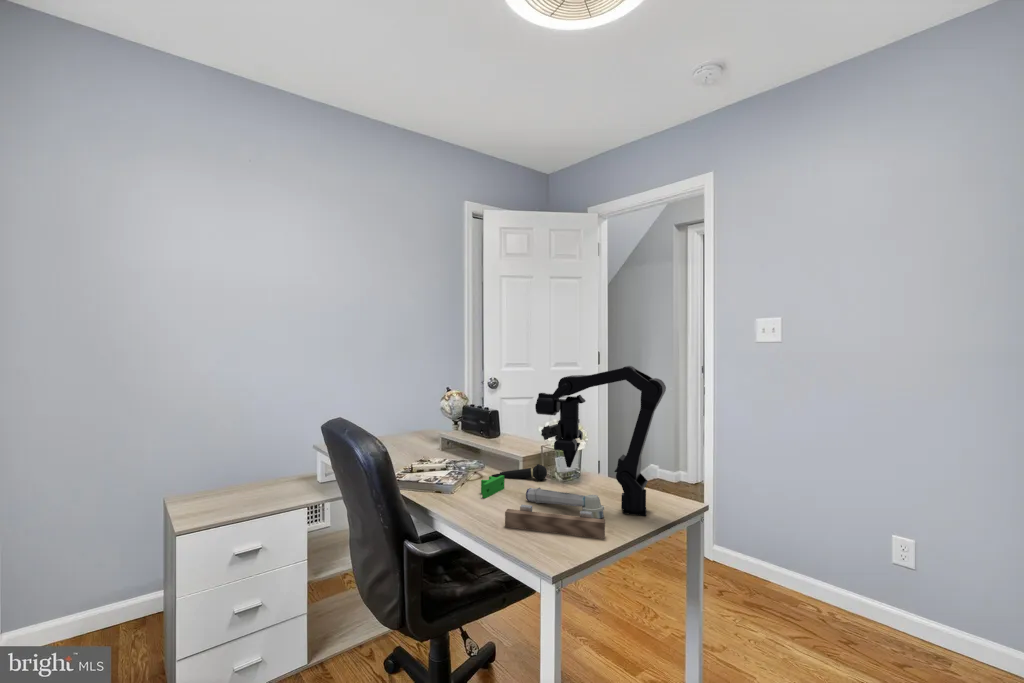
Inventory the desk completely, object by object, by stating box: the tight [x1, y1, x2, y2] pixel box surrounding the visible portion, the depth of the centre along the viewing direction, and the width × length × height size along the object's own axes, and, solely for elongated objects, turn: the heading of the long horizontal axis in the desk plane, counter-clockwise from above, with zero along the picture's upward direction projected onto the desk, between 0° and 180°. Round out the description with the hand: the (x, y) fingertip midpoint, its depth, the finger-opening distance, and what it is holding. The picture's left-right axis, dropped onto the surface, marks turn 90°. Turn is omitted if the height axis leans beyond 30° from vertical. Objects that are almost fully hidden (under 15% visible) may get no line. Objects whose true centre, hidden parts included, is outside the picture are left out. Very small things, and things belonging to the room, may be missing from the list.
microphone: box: [491, 463, 548, 481], centre depth 172 cm, size 6×6×20 cm
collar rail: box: [504, 504, 606, 540], centre depth 127 cm, size 26×4×5 cm, turn 75°
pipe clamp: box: [480, 475, 505, 499], centre depth 156 cm, size 11×4×5 cm, turn 149°
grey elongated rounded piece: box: [525, 487, 605, 519], centre depth 142 cm, size 5×7×25 cm
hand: (568, 467), depth 149 cm, fingers closed
